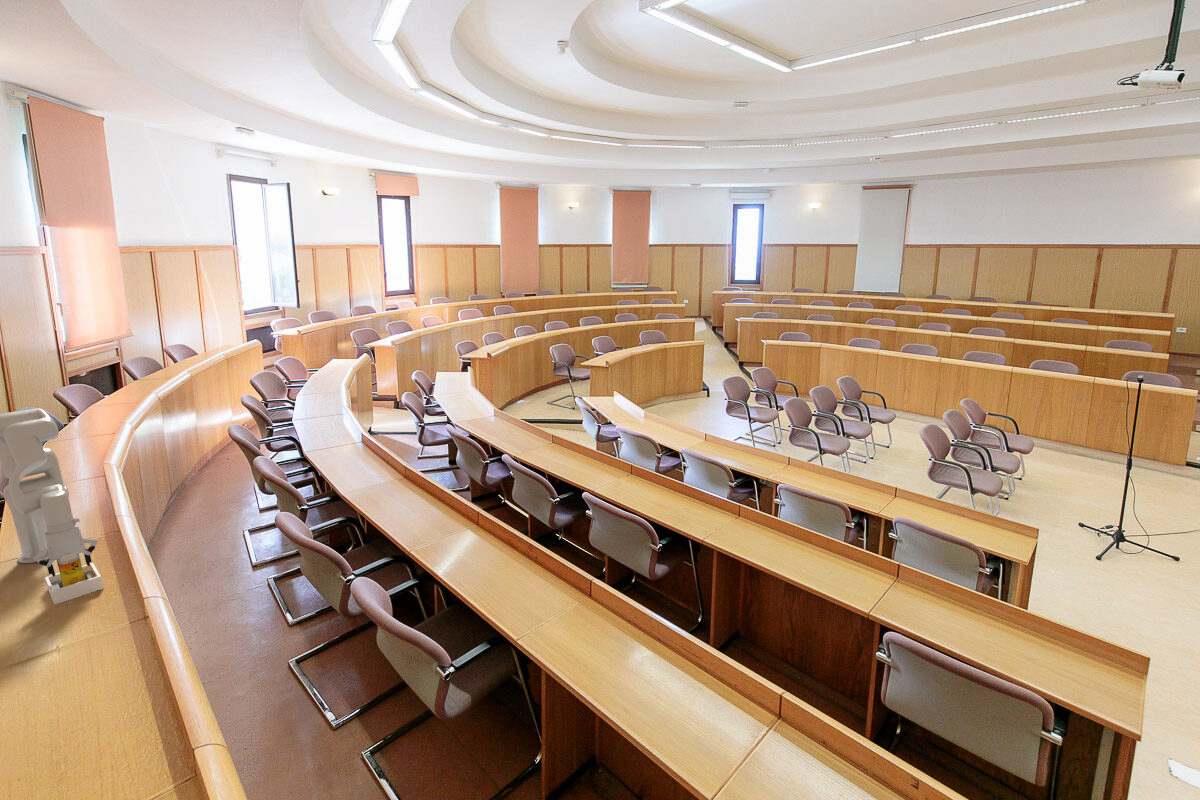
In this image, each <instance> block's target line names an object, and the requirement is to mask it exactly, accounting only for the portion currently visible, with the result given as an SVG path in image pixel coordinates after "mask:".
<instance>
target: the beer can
mask: <svg viewBox="0 0 1200 800" xmlns="http://www.w3.org/2000/svg"><path fill="white" fill-rule="evenodd" d="M80 557H81V556H80V553H78V554H74V553H69V554H66V555H63V556H62V558H60V559H57V560H56V563H57V568H58V571H59V572H58V573H60V576H61V580H62V584H63V587H65V586H68V585H72V584H75V583H78V582H81V581H84V580H85V578H84V574H83V569H82V566H83V565H82V563H81V562H82V561H81V558H80Z"/></svg>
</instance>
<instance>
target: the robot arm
mask: <svg viewBox="0 0 1200 800" xmlns="http://www.w3.org/2000/svg"><path fill="white" fill-rule="evenodd" d="M59 434H60V431H59V428H58V425H57V423H56V421H55V419H53V418H52V416H51V415H50V414H48V412H46V411H45V410H44V409H42V408H39V407H38V408H37V407H35V408H29V409H24V410H18V411H11V412H10V411H9V412H5V413H0V466H1V470H2V473H3V475H4V476H5V477H6V479H9V480H8V484H7V485H6V486H5V487H4V488H3V490H2V495H3V499H4V501H5V502H6V504H7V507H8V509H9V511H10V513H11V514H10V515H11V516H12V520H13V524H14V527H15V532H16V535H17V539H18V543H19V547H20V550H21V554H19V556H18V557H17V561H18V562H19V563H20V564H33V563H38V564H39V565H41V566H45V567H46V568H47V572H48V575H52V576H53V577H54V576H55V574H56V572H55V568H54V565H53V563H54V562H55V561H57V559H60V558H62V556H63V555H66V554H69V553H74V554H78V553H79V554H81V553H82V554H83V555H84V561H85V565H87V566H90V564H91V563H93V562H92V558H91V554H92V553H93V551H95V548H96V546H97V544H98V540H97V539H95V538H94V539H93V538H85V537H83V534H82V531H81V529H80V527H79V525H78V524H77V523H80V518H79V517H78V518H75V517H74V515H73V511H72V506H71V503H70V499H69V498H70V493H69V489H68V488H67V487H66V486H65V483H64V479H63V474H62V470H61V466H60V463H59V459H58V457H57V454H56V452H55V451H54V450H53V449H52V448H49V447H44V446H43V443H42V442H47V441H51V440H55V439H57V438H58V436H59ZM40 474H41V475H40ZM42 474H44V475H42ZM36 475H40V476H36ZM32 476H34V477H32ZM35 476H36V477H35ZM27 477H30V478H27ZM23 478H25V479H23ZM86 544H90V545H89V546H88V547H86Z"/></svg>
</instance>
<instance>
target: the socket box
mask: <svg viewBox="0 0 1200 800" xmlns="http://www.w3.org/2000/svg"><path fill="white" fill-rule="evenodd" d="M82 569H83V574H84V578H85V580H84V581H81V582H78V583H75V584H72V585H68V586H65V587H63V584H62V580H61V576H60V572H57V573H55V576H54V577H53V576H52V574H50V575H47V576H45V577H44V579H45V583H46V587H47V590H48V593H49V596H50V598H51V600H52V602H53V604H54V605H57V604H61V603H64V602H66V601H70V600H73V599H77V598H78V597H82V596H86V595H89V594H91V592H92V593H94V592H98V591H100V590H104V584H103V580H102V575H101V574H100V572H99V571H98V569H97V567H96V566H95V564H94V563H93V562H90V566H87V564H85V565H82ZM97 590H98V591H97Z"/></svg>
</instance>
